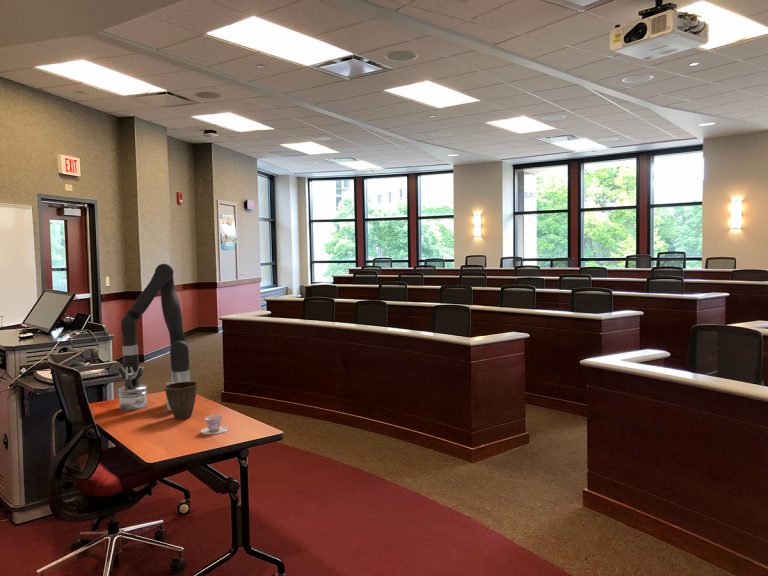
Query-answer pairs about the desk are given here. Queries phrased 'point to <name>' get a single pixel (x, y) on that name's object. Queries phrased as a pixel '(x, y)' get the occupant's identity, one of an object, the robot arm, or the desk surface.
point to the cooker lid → (131, 387)
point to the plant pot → (181, 398)
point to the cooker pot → (132, 400)
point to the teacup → (214, 425)
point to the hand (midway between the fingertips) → (132, 386)
